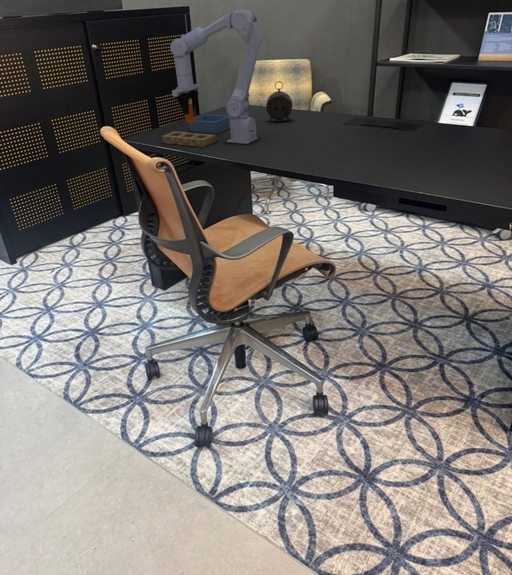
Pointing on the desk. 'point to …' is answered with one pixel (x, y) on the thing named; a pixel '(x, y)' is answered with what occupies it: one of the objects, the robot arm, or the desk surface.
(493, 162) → the desk surface
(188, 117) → the pill bottle
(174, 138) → the pen rack
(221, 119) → the bin
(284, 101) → the alarm clock
